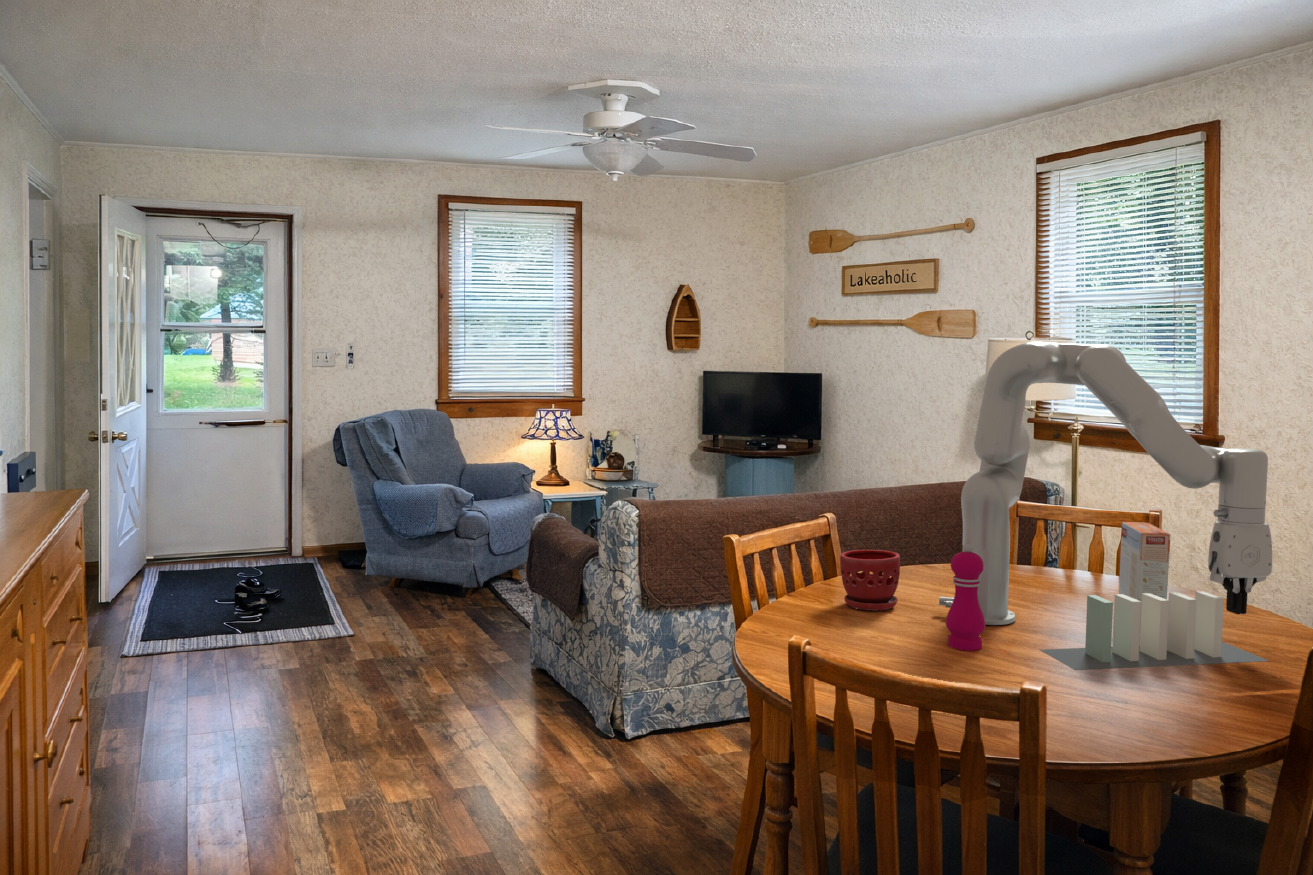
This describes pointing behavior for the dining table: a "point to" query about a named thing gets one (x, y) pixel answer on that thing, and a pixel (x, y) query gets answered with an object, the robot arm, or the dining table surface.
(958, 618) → the pepper mill
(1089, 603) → the sage domino
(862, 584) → the plant pot
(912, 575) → the dining table surface
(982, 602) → the robot arm
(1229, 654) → the domino mat
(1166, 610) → the domino
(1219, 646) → the domino
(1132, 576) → the cracker box
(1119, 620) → the domino
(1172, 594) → the domino
